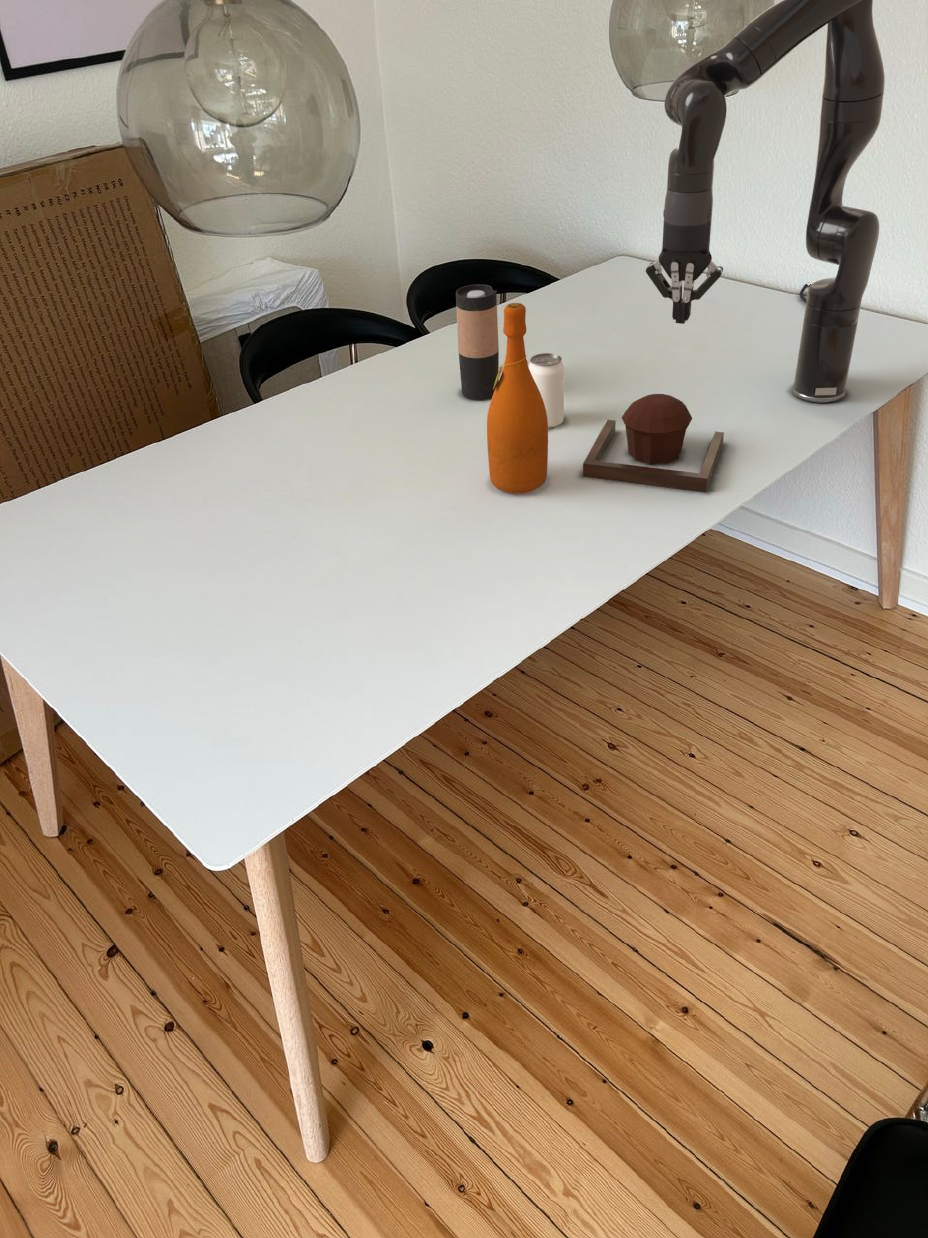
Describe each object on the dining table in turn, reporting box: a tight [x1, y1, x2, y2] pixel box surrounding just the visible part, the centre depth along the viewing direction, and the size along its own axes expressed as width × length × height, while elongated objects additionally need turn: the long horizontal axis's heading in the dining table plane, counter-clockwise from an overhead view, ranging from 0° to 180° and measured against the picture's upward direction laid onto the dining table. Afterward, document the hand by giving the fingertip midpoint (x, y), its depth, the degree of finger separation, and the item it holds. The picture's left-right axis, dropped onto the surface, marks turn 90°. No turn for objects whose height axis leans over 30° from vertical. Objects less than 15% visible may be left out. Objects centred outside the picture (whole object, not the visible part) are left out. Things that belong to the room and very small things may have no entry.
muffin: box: [621, 393, 693, 466], centre depth 172 cm, size 12×11×10 cm
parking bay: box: [582, 419, 725, 493], centre depth 172 cm, size 17×20×2 cm
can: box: [528, 352, 565, 429], centre depth 184 cm, size 6×6×12 cm
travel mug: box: [455, 284, 500, 401], centre depth 193 cm, size 8×8×20 cm
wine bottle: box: [486, 302, 549, 494], centre depth 161 cm, size 10×10×30 cm
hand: (680, 321), depth 173 cm, fingers closed
